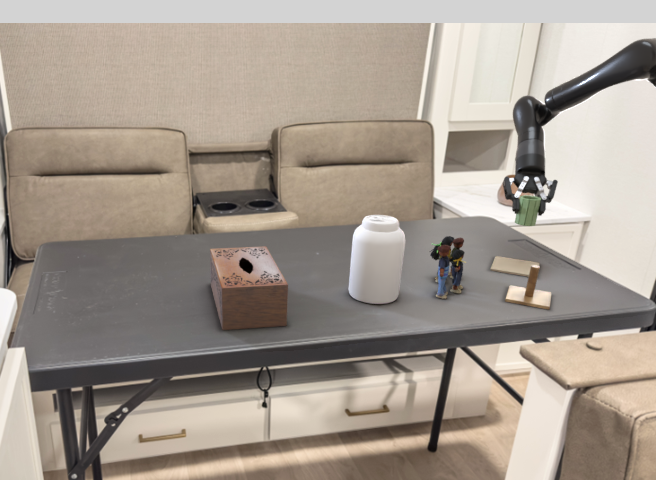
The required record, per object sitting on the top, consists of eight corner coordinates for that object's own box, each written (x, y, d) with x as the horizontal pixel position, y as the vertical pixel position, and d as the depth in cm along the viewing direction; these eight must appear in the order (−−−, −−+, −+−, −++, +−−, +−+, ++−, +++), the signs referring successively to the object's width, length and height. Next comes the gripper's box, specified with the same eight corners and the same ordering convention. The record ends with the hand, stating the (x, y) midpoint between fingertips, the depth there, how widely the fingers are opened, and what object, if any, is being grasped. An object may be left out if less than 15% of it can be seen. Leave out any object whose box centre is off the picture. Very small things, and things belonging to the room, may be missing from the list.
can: (340, 298, 144) (346, 220, 136) (358, 282, 154) (365, 208, 146) (389, 309, 139) (398, 228, 130) (404, 291, 148) (414, 216, 140)
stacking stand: (551, 295, 148) (558, 263, 144) (549, 309, 140) (557, 276, 136) (509, 287, 152) (515, 256, 148) (504, 301, 144) (511, 269, 140)
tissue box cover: (286, 325, 130) (288, 284, 126) (222, 330, 128) (221, 288, 124) (265, 282, 153) (266, 246, 149) (210, 285, 151) (210, 248, 147)
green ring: (535, 222, 160) (541, 196, 157) (534, 227, 156) (540, 201, 153) (515, 219, 162) (520, 194, 159) (513, 224, 158) (519, 198, 155)
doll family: (470, 305, 141) (479, 253, 136) (431, 302, 143) (439, 251, 137) (457, 271, 162) (464, 225, 157) (423, 269, 164) (430, 223, 158)
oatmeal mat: (539, 264, 168) (539, 262, 168) (536, 278, 158) (537, 276, 158) (495, 257, 173) (495, 255, 173) (490, 270, 163) (490, 268, 163)
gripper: (506, 150, 160) (503, 204, 154) (562, 153, 157) (562, 208, 151) (500, 166, 167) (497, 218, 161) (554, 169, 164) (553, 222, 158)
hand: (528, 213), depth 156 cm, fingers closed on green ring, 5 cm apart
